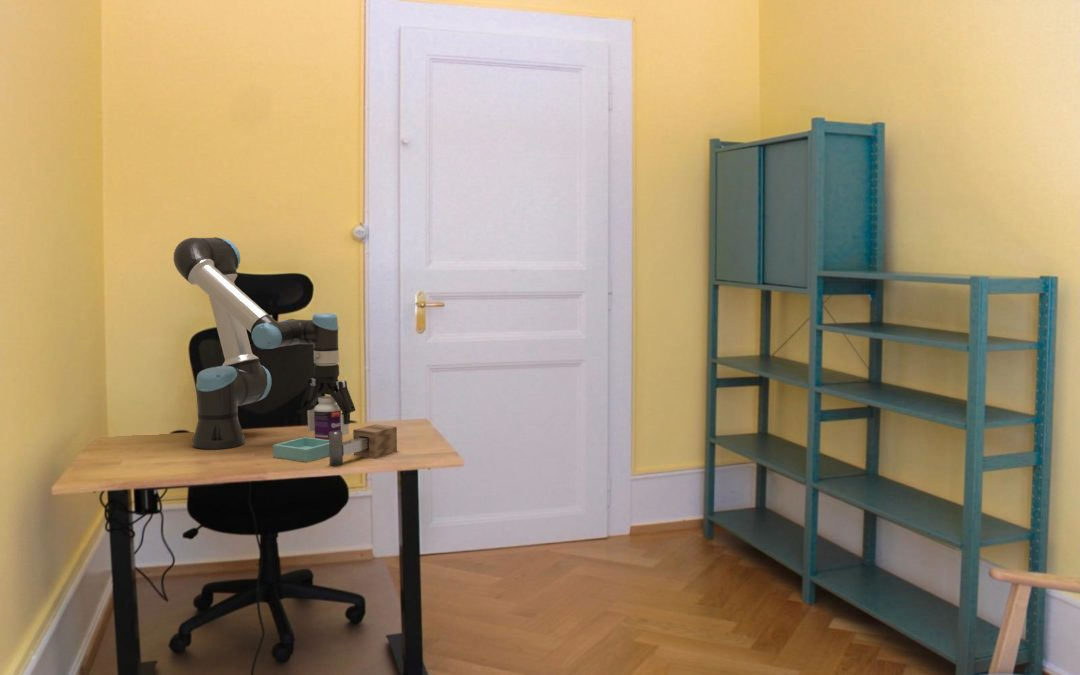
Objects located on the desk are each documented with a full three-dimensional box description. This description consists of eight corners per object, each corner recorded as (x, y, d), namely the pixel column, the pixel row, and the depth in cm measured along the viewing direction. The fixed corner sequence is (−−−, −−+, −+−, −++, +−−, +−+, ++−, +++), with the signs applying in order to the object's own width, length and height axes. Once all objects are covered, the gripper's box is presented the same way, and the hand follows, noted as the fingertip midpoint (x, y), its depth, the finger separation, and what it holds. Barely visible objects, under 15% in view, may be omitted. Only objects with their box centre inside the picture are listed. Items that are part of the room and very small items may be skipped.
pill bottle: (335, 446, 291) (334, 399, 290) (310, 445, 293) (309, 398, 291) (345, 441, 299) (344, 395, 298) (321, 440, 301) (320, 394, 299)
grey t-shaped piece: (336, 466, 264) (336, 433, 264) (326, 464, 266) (326, 432, 265) (377, 454, 279) (376, 423, 279) (367, 452, 281) (367, 422, 280)
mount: (375, 458, 275) (374, 432, 275) (353, 455, 279) (353, 429, 279) (397, 451, 284) (396, 426, 283) (375, 448, 288) (375, 424, 287)
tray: (273, 457, 277) (272, 444, 276) (305, 448, 288) (304, 437, 288) (306, 462, 270) (306, 449, 270) (338, 453, 282) (337, 441, 281)
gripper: (287, 363, 296) (289, 430, 298) (349, 367, 284) (351, 438, 286) (305, 360, 303) (306, 426, 305) (365, 365, 291) (367, 434, 293)
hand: (328, 432), depth 296 cm, fingers open, 13 cm apart
